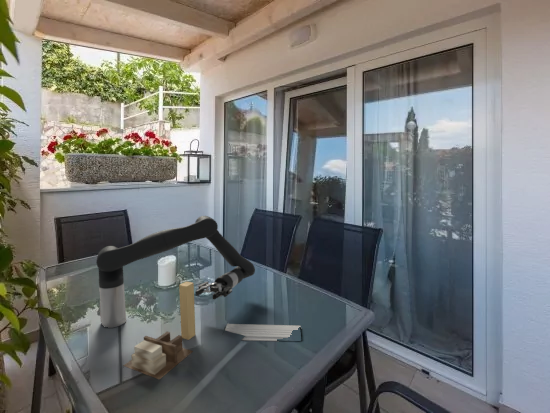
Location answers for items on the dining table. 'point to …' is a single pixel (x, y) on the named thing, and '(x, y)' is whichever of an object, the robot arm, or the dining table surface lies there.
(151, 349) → the offcut top
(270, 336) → the baseboard molding
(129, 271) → the dining table surface
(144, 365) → the offcut low
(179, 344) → the rack
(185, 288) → the slat
